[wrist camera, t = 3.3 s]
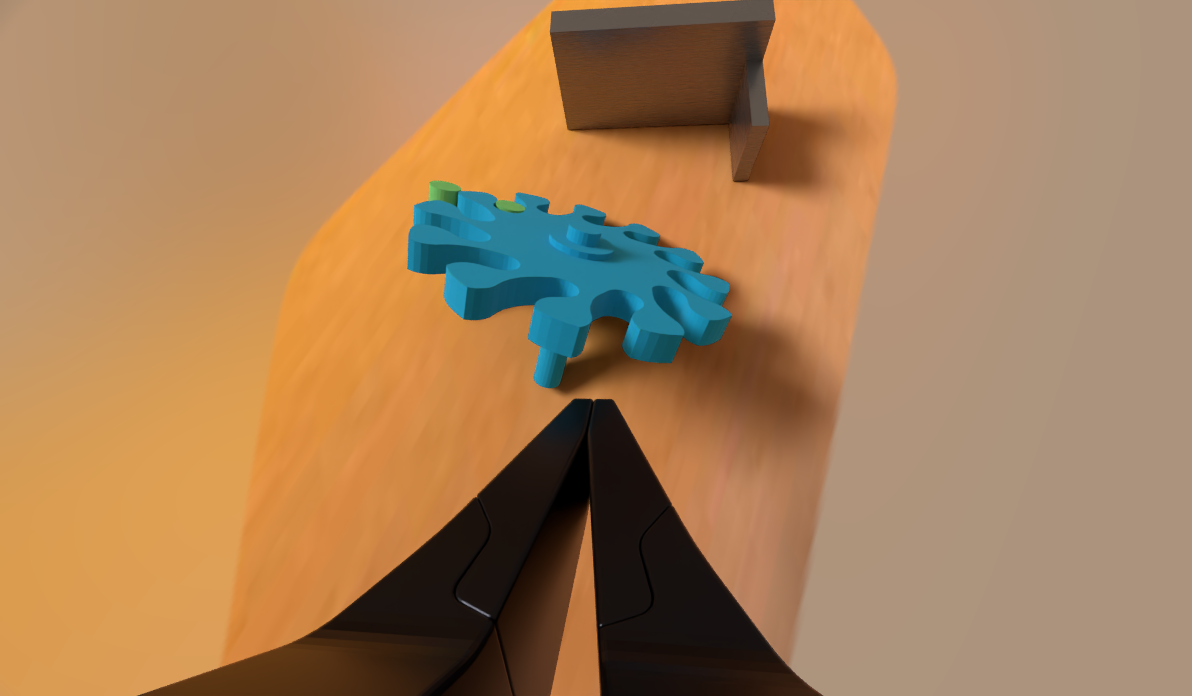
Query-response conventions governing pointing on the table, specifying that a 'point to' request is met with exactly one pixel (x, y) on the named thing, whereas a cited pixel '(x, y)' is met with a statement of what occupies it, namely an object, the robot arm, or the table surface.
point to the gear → (564, 275)
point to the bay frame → (668, 69)
